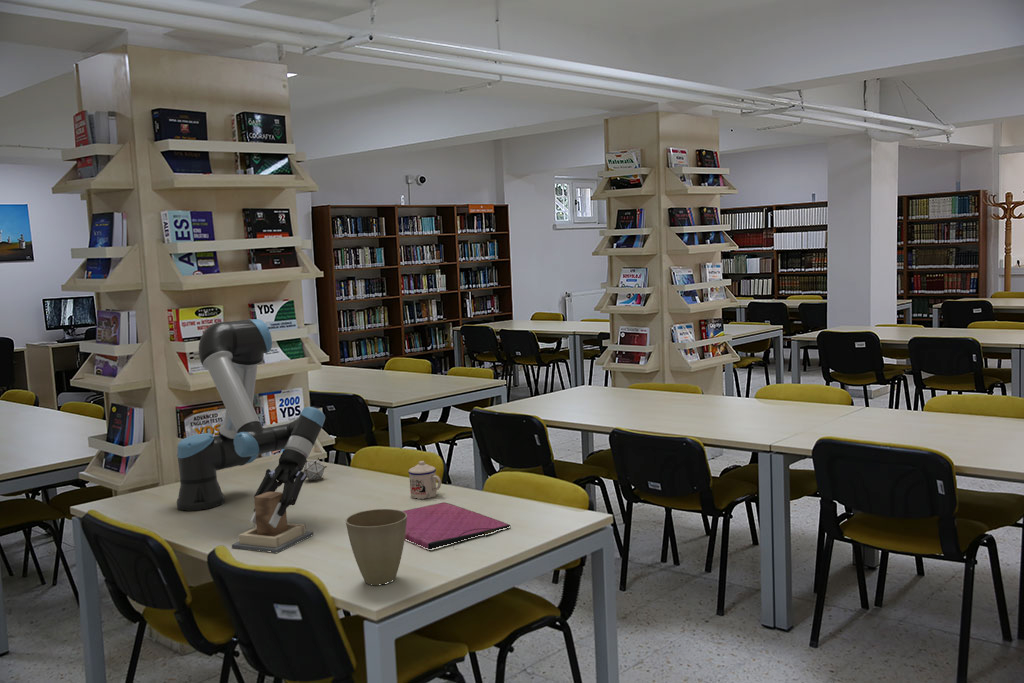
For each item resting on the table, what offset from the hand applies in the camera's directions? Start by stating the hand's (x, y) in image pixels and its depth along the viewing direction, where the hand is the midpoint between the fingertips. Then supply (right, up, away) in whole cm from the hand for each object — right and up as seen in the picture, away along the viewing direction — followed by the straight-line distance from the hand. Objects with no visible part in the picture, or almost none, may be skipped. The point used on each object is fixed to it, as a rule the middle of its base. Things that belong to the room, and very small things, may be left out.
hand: (263, 524), depth 248 cm
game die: (-2, +1, +74) cm, 74 cm away
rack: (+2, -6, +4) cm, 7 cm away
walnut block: (+2, -3, +4) cm, 5 cm away
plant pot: (+38, -7, -32) cm, 50 cm away
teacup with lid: (+42, 0, +43) cm, 60 cm away
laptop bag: (+50, -3, +8) cm, 50 cm away
